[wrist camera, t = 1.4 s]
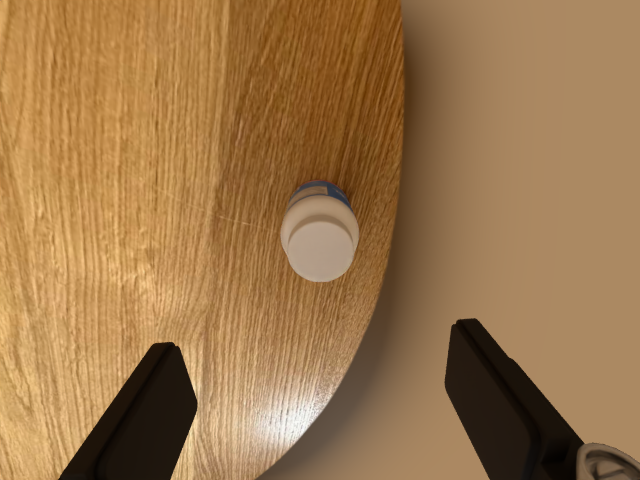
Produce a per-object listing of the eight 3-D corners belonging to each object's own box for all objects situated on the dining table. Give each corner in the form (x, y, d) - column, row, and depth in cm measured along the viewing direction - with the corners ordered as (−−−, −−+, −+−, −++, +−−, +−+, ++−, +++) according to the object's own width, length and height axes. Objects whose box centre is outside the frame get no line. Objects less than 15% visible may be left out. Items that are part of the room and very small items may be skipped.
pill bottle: (355, 226, 27) (376, 280, 18) (300, 243, 28) (294, 304, 19) (338, 168, 25) (352, 198, 16) (279, 188, 26) (260, 228, 17)
